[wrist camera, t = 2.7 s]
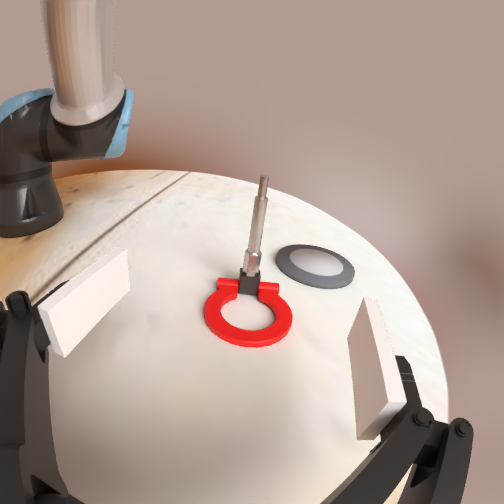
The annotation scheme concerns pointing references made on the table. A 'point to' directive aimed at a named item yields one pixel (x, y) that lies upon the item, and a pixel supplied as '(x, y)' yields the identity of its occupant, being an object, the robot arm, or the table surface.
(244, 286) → the tow hook
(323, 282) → the plate
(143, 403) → the table surface
